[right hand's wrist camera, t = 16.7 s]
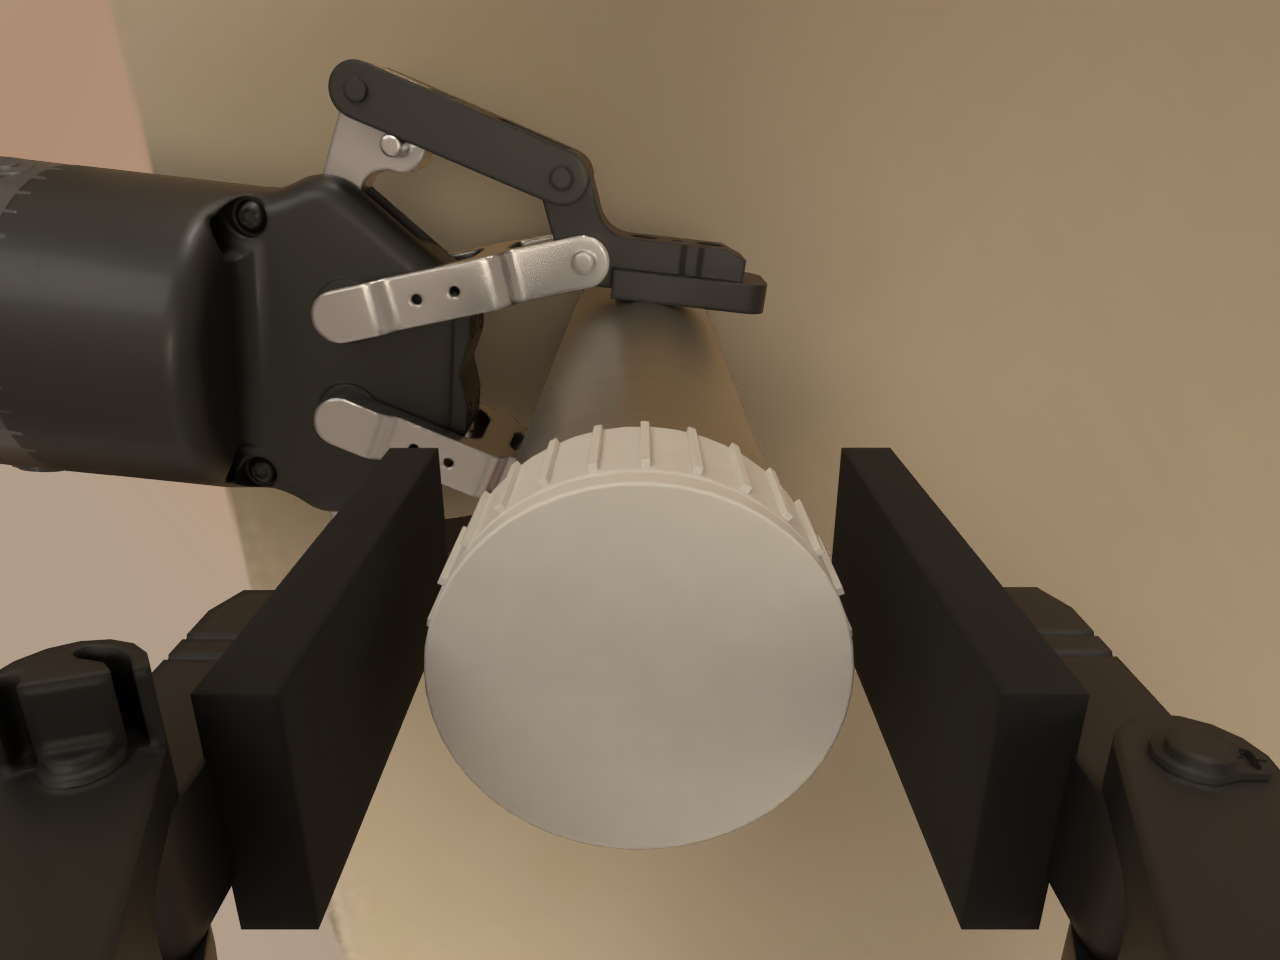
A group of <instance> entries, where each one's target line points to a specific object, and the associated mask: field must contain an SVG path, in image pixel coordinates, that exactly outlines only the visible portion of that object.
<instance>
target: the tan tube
mask: <svg viewBox="0 0 1280 960" xmlns="http://www.w3.org/2000/svg"><path fill="white" fill-rule="evenodd" d="M611 289H612V288H604V287H595V286H594V287H591V288H587V289H584V291H583V292H582V294H581V295H580V297H579V299H578V301H577V303H576V305H575V308H574V310H573V313H572V316H571V318H570V321H569V323H568V326H567V328H566V331H565V334H564V336H563V339H562V341H561V344H560V347H559V349H558V352H557V354H556V357H555V359H554V362H553V365H552V367H551V370H550V372H549V375H548V378H547V380H546V383H545V385H544V388H543V390H542V393H541V396H540V398H539V401H538V403H537V406H536V409H535V411H534V414H533V416H532V419H531V421H530V424H529V427H528V429H527V432H526V434H525V437H524V440H523V442H522V445H521V447H520V450H519V452H518V455H517V458H516V460H515V462H516V461H518V462H519V463H520V464H521V465H522V464H523V463H524V462H526V461H527V460H528V459H530V458H531V457H533V456H535V455H537V454H538V453H540V452H542V451H544V450H545V449H547V448H548V445H549V441H551V440H553V439H555V438H557V439H558V441H559V443H560V442H563V441H565V440H568V439H570V438H573V437H575V436H579V435H583V434H587V433H591V432H593V427H594V426H596V425H602V427H603V430H605V429H612V428H620V427H641V421H649V427H658V428H666V429H675V430H679V431H683V432H686V431H687V428H688V427H691V428H695V429H696V432H697V435H700V436H703V437H705V438H708V439H710V440H713V441H716V442H718V443H721V444H723V445H725V446H727V447H729V446H730V445H731V443H734V444H736V445H738V446H739V448H740V451H741V454H742V455H744V456H745V457H747V458H748V459H750V460H751V461H752V462H754V463H755V464H757V465H758V466H759V467H761V468H762V469H763V470H765V471H766V470H767V469H766V466H765V464H764V461H763V459H762V456H761V453H760V451H759V448H758V446H757V443H756V440H755V438H754V435H753V433H752V430H751V427H750V425H749V422H748V420H747V417H746V414H745V412H744V409H743V407H742V404H741V401H740V399H739V396H738V394H737V391H736V388H735V386H734V383H733V381H732V378H731V375H730V373H729V370H728V368H727V365H726V362H725V360H724V357H723V355H722V352H721V349H720V347H719V344H718V341H717V339H716V336H715V334H714V331H713V328H712V326H711V323H710V321H709V318H708V315H707V313H706V310H705V309H699V308H690V307H681V306H672V305H663V304H656V303H651V302H636V301H627V300H618V299H611Z"/></svg>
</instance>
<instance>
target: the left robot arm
mask: <svg viewBox="0 0 1280 960" xmlns="http://www.w3.org/2000/svg"><path fill="white" fill-rule="evenodd" d="M328 86H329V94H330V97H331V100H332V102H333V104H334V106H335V107H336V108H337V109H338V110H339V115H338V119H337V123H336V126H335V130H334V134H333V138H332V141H331V145H330V149H329V153H328V156H327V160H326V164H325V167H324V171H323V174H319V175H313V176H309V177H306V178H304V179H302V180H300V181H298V182H296V183H294V184H291V185H289V186H286V187H282V188H275V187H262V186H253V185H244V184H236V183H227V182H218V181H210V180H201V179H192V178H183V177H175V176H166V175H157V174H149V173H140V172H131V171H123V170H115V169H106V168H97V167H89V166H80V165H68V164H59V163H51V162H43V161H34V160H26V159H20V158H12V157H1V156H0V464H7V465H12V466H13V467H17V468H19V469H21V470H25V471H34V472H57V471H64V470H65V471H75V472H85V473H95V474H104V475H116V476H126V477H136V478H145V479H155V480H164V481H174V482H184V483H193V484H203V485H213V486H222V487H269V488H276V489H279V490H282V491H285V492H288V493H290V494H292V495H294V496H296V497H298V498H300V499H302V500H303V501H305V502H306V503H308V504H310V505H311V506H313V507H316V508H318V509H321V510H325V511H330V514H331V517H332V519H333V518H334V516H335V515H336V514H337V513H338V511H339V510H340V509H341V508H342V506H343V505H344V504H345V503H346V501H347V500H348V499H349V498H350V497H351V495H352V494H353V493H354V492H355V490H356V489H357V488H358V487H359V485H360V484H361V483H362V482H363V480H364V479H365V478H366V477H367V476H368V474H369V473H370V472H371V471H372V469H373V468H374V467H375V466H376V464H377V463H378V462H379V461H380V459H381V458H382V457H383V456H384V455H385V453H386V452H387V451H388V450H389V448H438V449H439V461H440V472H441V484H443V485H445V486H448V487H450V488H453V489H455V490H458V491H460V492H463V493H465V494H468V495H470V496H473V497H477V498H480V497H481V495H482V494H483V493H484V492H485V491H487V492H488V493H490V494H491V493H492V491H493V490H494V489H495V488H496V487H497V486H498V485H499V484H500V483H501V482H502V481H503V480H504V479H505V478H506V477H507V475H508V472H509V470H510V467H511V465H512V464H513V463H514V462H515V460H516V458H517V455H518V452H519V450H520V447H521V445H522V442H523V440H524V437H525V434H526V432H527V428H525V427H523V426H522V425H521V424H520V423H519V421H518V420H516V419H515V418H514V417H512V416H510V415H508V414H506V413H504V412H501V411H499V410H496V409H494V408H492V407H489V406H487V405H484V404H482V403H480V380H479V375H478V371H477V366H476V362H475V357H474V353H475V350H476V347H477V344H478V341H479V338H480V335H481V331H482V328H483V320H484V313H485V312H490V311H495V310H499V309H503V308H507V307H510V306H512V305H515V304H517V303H520V302H524V301H528V300H533V299H538V298H543V297H548V296H553V295H558V294H563V293H567V292H572V291H577V290H582V289H587V288H591V287H594V286H595V287H604V288H612V289H611V299H618V300H627V301H636V302H651V303H656V304H663V305H672V306H681V307H690V308H699V309H708V310H717V311H726V312H735V313H744V314H761V313H763V307H764V301H765V295H766V289H767V283H766V282H765V281H764V280H763V279H762V278H761V276H759V275H756V274H751V273H746V272H744V270H745V264H746V260H745V259H744V258H743V256H742V255H741V254H740V253H738V252H737V251H735V250H733V249H731V248H729V247H728V246H726V245H724V244H722V243H717V242H709V241H698V240H691V239H681V238H674V237H665V236H656V235H647V234H638V233H630V232H624V231H622V230H619V229H617V228H616V227H614V226H613V225H612V224H611V223H610V222H609V221H608V220H607V218H606V217H605V215H604V213H603V211H602V208H601V204H600V200H599V196H598V192H597V188H596V184H595V180H594V172H593V167H592V164H591V162H590V160H589V159H588V158H587V156H586V155H584V154H583V153H582V152H580V151H578V150H576V149H574V148H571V147H569V146H567V145H564V144H562V143H560V142H558V141H555V140H553V139H551V138H548V137H546V136H544V135H541V134H539V133H537V132H535V131H532V130H530V129H528V128H525V127H523V126H521V125H519V124H516V123H514V122H512V121H509V120H507V119H505V118H502V117H500V116H498V115H496V114H493V113H491V112H489V111H486V110H484V109H482V108H479V107H477V106H475V105H473V104H470V103H468V102H466V101H463V100H461V99H459V98H457V97H454V96H452V95H450V94H447V93H445V92H443V91H440V90H438V89H436V88H434V87H431V86H429V85H427V84H424V83H422V82H420V81H417V80H415V79H413V78H411V77H408V76H406V75H404V74H401V73H399V72H397V71H395V70H392V69H389V68H385V67H382V66H378V65H375V64H371V63H368V62H364V61H361V60H355V59H353V60H346V61H343V62H341V63H340V64H338V65H337V66H336V67H335V68H334V70H333V71H332V73H331V75H330V79H329V85H328ZM433 154H436V155H438V156H440V157H443V158H445V159H447V160H450V161H452V162H454V163H457V164H459V165H462V166H464V167H466V168H469V169H471V170H473V171H476V172H478V173H480V174H483V175H485V176H487V177H490V178H492V179H494V180H497V181H499V182H502V183H504V184H506V185H509V186H511V187H513V188H516V189H518V190H520V191H523V192H525V193H527V194H530V195H532V196H535V197H537V198H539V199H542V200H543V203H544V207H545V210H546V214H547V218H548V222H549V225H550V229H551V234H546V235H541V236H536V237H532V238H527V239H521V240H511V241H505V242H500V243H496V244H491V245H486V246H481V247H477V248H472V249H467V250H462V251H458V252H453V253H448V252H447V251H446V250H444V249H443V248H442V247H441V246H440V245H439V244H438V243H436V242H435V241H434V240H433V239H432V238H431V237H430V236H428V235H427V234H426V233H425V232H424V231H423V230H421V229H420V228H419V227H418V226H417V225H416V224H415V223H413V222H412V221H411V220H410V219H409V218H408V217H406V216H405V215H404V214H403V213H402V212H401V211H400V210H398V209H397V208H396V207H395V206H394V205H393V204H392V203H390V202H389V201H388V200H387V199H386V198H385V197H384V196H382V195H381V194H380V193H379V192H378V191H377V190H376V189H374V188H373V187H372V184H373V182H374V180H375V178H376V177H377V176H378V175H379V174H380V173H381V172H383V171H385V170H390V171H394V172H398V173H404V172H412V171H417V170H420V169H422V168H423V167H425V166H426V165H427V164H428V163H429V161H430V160H431V158H432V155H433ZM472 424H473V425H474V426H472ZM449 458H450V459H452V460H453V461H452V460H450V459H449ZM471 518H472V515H470V516H464V517H458V518H452V519H445V529H446V541H447V552H448V558H449V556H450V554H451V552H452V549H453V547H454V545H455V543H456V541H457V538H458V536H459V534H460V532H461V530H462V527H463V526H465V527H468V524H469V522H470V520H471Z"/></svg>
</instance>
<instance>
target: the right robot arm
mask: <svg viewBox="0 0 1280 960" xmlns="http://www.w3.org/2000/svg"><path fill="white" fill-rule="evenodd" d="M447 560H448V552H447V541H446V529H445V518H444V506H443V495H442V484H441V472H440V461H439V449H438V448H389V450H388V451H387V452H386V453H385V455H384V456H383V457H382V458H381V459H380V461H379V462H378V463H377V464H376V466H375V467H374V468H373V469H372V471H371V472H370V473H369V474H368V476H367V477H366V478H365V479H364V480H363V482H362V483H361V484H360V485H359V487H358V488H357V489H356V490H355V492H354V493H353V494H352V495H351V497H350V498H349V499H348V500H347V501H346V503H345V504H344V505H343V506H342V508H341V509H340V510H339V511H338V513H337V514H336V515H335V516H334V518H333V519H332V520H331V521H330V522H329V524H328V525H327V526H326V527H325V529H324V530H323V531H322V532H321V534H320V535H319V536H318V537H317V539H316V540H315V541H314V542H313V543H312V545H311V546H310V547H309V548H308V550H307V551H306V552H305V553H304V555H303V556H302V557H301V558H300V560H299V561H298V562H297V563H296V564H295V566H294V567H293V568H292V569H291V571H290V572H289V573H288V574H287V576H286V577H285V578H284V579H283V580H282V582H281V583H280V584H279V585H278V587H277V588H276V589H275V590H243V591H242V592H240V593H238V594H237V595H235V596H233V597H231V598H230V599H228V600H226V601H225V602H223V603H221V604H219V605H218V606H216V607H214V608H213V609H211V610H209V611H208V612H207V613H206V614H205V615H204V616H203V618H202V619H201V620H200V621H199V622H198V623H197V624H196V625H195V626H194V628H192V630H191V631H190V632H189V633H188V634H187V639H183V640H181V642H180V643H179V644H178V645H177V646H176V647H175V648H174V649H173V650H172V651H171V653H170V654H169V658H168V660H163V661H162V662H161V664H160V665H159V666H158V667H157V668H156V669H155V670H154V671H153V672H151V668H150V663H149V659H148V655H147V652H145V651H144V650H142V649H141V648H139V647H138V646H137V645H135V644H134V643H129V642H123V641H117V640H111V639H108V640H92V641H79V642H75V643H70V644H66V645H61V646H57V647H53V648H48V649H45V650H43V651H40V652H37V653H35V654H32V655H29V656H27V657H24V658H22V659H19V660H16V661H14V662H12V663H11V664H9V665H7V666H5V667H4V668H2V669H0V960H217V953H216V946H215V941H214V936H213V932H212V928H211V922H212V921H213V919H214V917H215V915H216V913H217V911H218V910H219V908H220V906H221V904H222V902H223V900H224V899H225V897H226V895H227V893H228V891H229V890H230V888H231V886H232V889H233V894H234V898H235V903H236V907H237V912H238V917H239V921H240V926H241V929H319V927H320V924H321V922H322V920H323V917H324V915H325V912H326V910H327V907H328V905H329V902H330V900H331V897H332V895H333V892H334V890H335V888H336V885H337V883H338V880H339V878H340V875H341V873H342V870H343V868H344V865H345V863H346V861H347V858H348V856H349V853H350V851H351V848H352V846H353V843H354V841H355V838H356V836H357V834H358V831H359V829H360V826H361V824H362V821H363V819H364V816H365V814H366V811H367V809H368V806H369V804H370V802H371V799H372V797H373V794H374V792H375V789H376V787H377V784H378V782H379V779H380V777H381V775H382V772H383V770H384V767H385V765H386V762H387V760H388V757H389V755H390V752H391V750H392V747H393V745H394V743H395V740H396V738H397V735H398V733H399V730H400V728H401V725H402V723H403V720H404V718H405V716H406V713H407V711H408V708H409V706H410V703H411V701H412V698H413V696H414V693H415V691H416V688H417V686H418V684H419V681H420V679H421V676H422V674H423V671H424V654H425V643H426V638H427V633H428V628H429V627H428V626H427V619H428V616H429V614H430V612H431V610H432V607H433V605H434V603H435V601H436V598H437V596H438V594H439V592H440V589H441V587H442V585H440V584H438V580H439V578H440V576H441V573H442V571H443V569H444V567H445V565H446V562H447ZM832 565H833V567H834V569H835V572H836V574H837V576H838V578H839V581H840V583H841V585H842V587H843V590H844V594H843V595H840V596H839V598H840V600H841V603H842V606H843V608H844V611H845V613H846V616H847V619H848V621H849V623H850V626H851V628H852V635H853V636H852V641H853V652H854V666H855V669H856V671H857V674H858V676H859V679H860V681H861V684H862V686H863V688H864V691H865V693H866V696H867V698H868V701H869V703H870V706H871V708H872V711H873V713H874V715H875V718H876V720H877V723H878V725H879V728H880V730H881V733H882V735H883V738H884V740H885V743H886V745H887V747H888V750H889V752H890V755H891V757H892V760H893V762H894V765H895V767H896V770H897V772H898V774H899V777H900V779H901V782H902V784H903V787H904V789H905V792H906V794H907V797H908V799H909V802H910V804H911V806H912V809H913V811H914V814H915V816H916V819H917V821H918V824H919V826H920V829H921V831H922V833H923V836H924V838H925V841H926V843H927V846H928V848H929V851H930V853H931V856H932V858H933V861H934V863H935V865H936V868H937V870H938V873H939V875H940V878H941V880H942V883H943V885H944V888H945V890H946V892H947V895H948V897H949V900H950V902H951V905H952V907H953V910H954V912H955V915H956V917H957V920H958V922H959V924H960V927H961V929H1039V926H1040V921H1041V917H1042V912H1043V907H1044V903H1045V898H1046V894H1047V889H1048V885H1049V883H1050V885H1051V887H1052V889H1053V890H1054V892H1055V894H1056V896H1057V898H1058V899H1059V901H1060V903H1061V905H1062V907H1063V909H1064V910H1065V912H1066V914H1067V916H1068V918H1069V919H1070V924H1069V928H1068V932H1067V936H1066V941H1065V945H1064V949H1063V953H1062V958H1061V960H1280V770H1279V768H1278V767H1277V766H1276V765H1275V763H1274V762H1273V761H1272V760H1271V759H1270V757H1269V756H1267V755H1266V754H1265V753H1263V752H1262V751H1260V750H1259V749H1257V748H1256V747H1254V746H1253V745H1252V744H1250V743H1249V742H1247V741H1246V740H1244V739H1243V738H1241V737H1239V736H1236V735H1234V734H1232V733H1230V732H1227V731H1225V730H1223V729H1221V728H1218V727H1216V726H1214V725H1212V724H1208V723H1204V722H1200V721H1196V720H1193V719H1189V718H1185V717H1181V716H1171V715H1170V714H1169V713H1168V711H1167V710H1166V709H1165V708H1164V707H1163V706H1162V705H1161V704H1160V703H1159V702H1158V701H1157V699H1156V698H1155V697H1154V696H1153V695H1152V694H1151V693H1150V692H1149V691H1148V690H1147V689H1146V688H1145V686H1144V685H1143V684H1142V683H1141V682H1140V681H1139V680H1138V679H1137V678H1136V677H1135V676H1134V675H1133V673H1132V672H1131V671H1130V670H1129V669H1128V668H1127V667H1126V666H1125V665H1124V664H1123V663H1122V662H1121V660H1120V659H1119V658H1118V657H1113V656H1112V651H1111V650H1110V648H1109V647H1108V646H1107V645H1106V644H1105V643H1104V642H1103V641H1102V640H1101V639H1100V638H1099V637H1098V636H1094V631H1093V630H1092V629H1091V628H1090V627H1089V626H1088V625H1087V624H1086V622H1085V621H1084V620H1083V619H1082V618H1081V617H1080V616H1079V615H1078V614H1077V613H1076V612H1075V611H1074V609H1073V608H1072V607H1070V606H1068V605H1066V604H1065V603H1063V602H1061V601H1059V600H1058V599H1056V598H1054V597H1053V596H1051V595H1049V594H1047V593H1046V592H1044V591H1042V590H1040V589H1039V588H1037V587H1002V585H1001V584H1000V583H999V582H998V580H997V579H996V578H995V577H994V576H993V574H992V573H991V572H990V571H989V569H988V568H987V567H986V566H985V564H984V563H983V562H982V561H981V559H980V558H979V557H978V556H977V555H976V553H975V552H974V551H973V550H972V548H971V547H970V546H969V545H968V543H967V542H966V541H965V540H964V539H963V537H962V536H961V535H960V534H959V532H958V531H957V530H956V529H955V527H954V526H953V525H952V524H951V522H950V521H949V520H948V519H947V518H946V516H945V515H944V514H943V513H942V511H941V510H940V509H939V508H938V506H937V505H936V504H935V503H934V501H933V500H932V499H931V498H930V497H929V495H928V494H927V493H926V492H925V490H924V489H923V488H922V487H921V485H920V484H919V483H918V482H917V480H916V479H915V478H914V477H913V476H912V474H911V473H910V472H909V471H908V469H907V468H906V467H905V466H904V464H903V463H902V462H901V461H900V459H899V458H898V457H897V456H896V455H895V453H894V452H893V451H892V450H891V448H842V449H841V461H840V472H839V484H838V495H837V507H836V518H835V529H834V541H833V552H832Z"/></svg>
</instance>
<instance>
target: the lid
mask: <svg viewBox="0 0 1280 960" xmlns="http://www.w3.org/2000/svg"><path fill="white" fill-rule="evenodd" d="M438 584H440V585H442V587H441V589H440V592H439V594H438V596H437V598H436V601H435V603H434V605H433V607H432V610H431V612H430V614H429V616H428V619H427V626H428V627H429V628H428V633H427V638H426V643H425V654H424V676H425V685H426V694H427V698H428V702H429V705H430V709H431V713H432V716H433V719H434V722H435V724H436V726H437V729H438V731H439V733H440V736H441V738H442V740H443V742H444V744H445V745H446V747H447V748H448V750H449V752H450V753H451V755H452V757H453V758H454V760H455V761H456V763H457V764H458V765H459V766H460V768H461V769H462V770H463V771H464V773H465V774H466V775H467V776H468V777H469V779H470V780H471V781H472V782H473V783H474V784H475V785H476V786H477V787H478V788H480V789H481V790H482V791H483V792H484V793H485V794H486V795H487V796H488V797H489V798H491V799H492V800H493V801H495V802H496V803H497V804H499V805H500V806H501V807H503V808H504V809H505V810H507V811H508V812H510V813H511V814H513V815H515V816H517V817H518V818H520V819H522V820H524V821H525V822H527V823H529V824H531V825H533V826H535V827H538V828H540V829H542V830H544V831H547V832H549V833H551V834H554V835H557V836H560V837H564V838H567V839H570V840H573V841H576V842H581V843H586V844H591V845H596V846H600V847H609V848H619V849H660V848H669V847H678V846H683V845H688V844H692V843H697V842H702V841H706V840H709V839H712V838H715V837H718V836H721V835H724V834H727V833H729V832H732V831H734V830H736V829H738V828H741V827H743V826H745V825H747V824H749V823H751V822H753V821H755V820H756V819H758V818H760V817H762V816H763V815H765V814H767V813H768V812H770V811H772V810H773V809H774V808H776V807H777V806H778V805H780V804H781V803H782V802H784V801H785V800H786V799H787V798H789V797H790V796H791V795H793V794H794V793H795V792H796V791H797V790H798V789H799V788H800V787H801V786H802V785H803V784H804V783H805V782H806V781H807V780H808V779H809V778H810V777H811V775H812V774H813V773H814V772H815V770H816V769H817V768H818V767H819V765H820V764H821V763H822V761H823V760H824V759H825V757H826V756H827V754H828V752H829V750H830V749H831V747H832V745H833V744H834V742H835V740H836V739H837V736H838V734H839V731H840V729H841V727H842V724H843V722H844V719H845V717H846V714H847V710H848V706H849V702H850V698H851V694H852V688H853V677H854V652H853V641H852V636H853V635H852V628H851V626H850V623H849V621H848V619H847V616H846V613H845V611H844V608H843V606H842V603H841V600H840V598H839V596H840V595H843V594H844V590H843V587H842V585H841V583H840V581H839V578H838V576H837V574H836V572H835V569H834V567H833V565H832V563H831V561H830V558H829V556H828V554H827V552H826V550H825V547H824V545H823V543H822V541H821V539H820V536H817V534H816V532H815V530H814V528H813V525H812V523H811V521H810V519H809V516H808V514H807V512H806V510H805V507H804V505H803V504H802V502H801V501H800V499H798V500H797V501H795V502H793V500H792V499H791V498H790V496H789V495H788V494H787V493H786V491H785V490H784V489H783V488H782V487H781V485H780V482H779V480H778V478H777V475H776V473H775V471H774V470H772V469H771V468H768V469H767V470H766V471H765V470H763V469H762V468H761V467H759V466H758V465H757V464H755V463H754V462H752V461H751V460H750V459H748V458H747V457H745V456H744V455H742V454H741V451H740V448H739V446H738V445H736V444H734V443H731V445H730V446H729V447H727V446H725V445H723V444H721V443H718V442H716V441H713V440H710V439H708V438H705V437H703V436H700V435H697V432H696V429H695V428H691V427H688V428H687V431H686V432H683V431H679V430H675V429H666V428H658V427H649V421H641V427H620V428H612V429H605V430H603V427H602V425H596V426H594V427H593V432H591V433H587V434H583V435H579V436H575V437H573V438H570V439H568V440H565V441H563V442H560V443H559V441H558V439H557V438H555V439H553V440H551V441H549V445H548V448H547V449H545V450H544V451H542V452H540V453H538V454H537V455H535V456H533V457H531V458H530V459H528V460H527V461H526V462H524V463H523V464H522V465H521V464H520V463H519V462H518V461H516V462H514V463H513V464H512V465H511V467H510V470H509V472H508V475H507V477H506V478H505V479H504V480H503V481H502V482H501V483H500V484H499V485H498V486H497V487H496V488H495V489H494V490H493V491H492V493H491V494H490V493H488V492H487V491H485V492H484V493H483V494H482V495H481V497H480V500H479V502H478V504H477V506H476V509H475V511H474V513H473V515H472V518H471V520H470V522H469V524H468V527H465V526H463V527H462V530H461V532H460V534H459V536H458V538H457V541H456V543H455V545H454V547H453V549H452V552H451V554H450V556H449V558H448V560H447V562H446V565H445V567H444V569H443V571H442V573H441V576H440V578H439V580H438Z"/></svg>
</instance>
